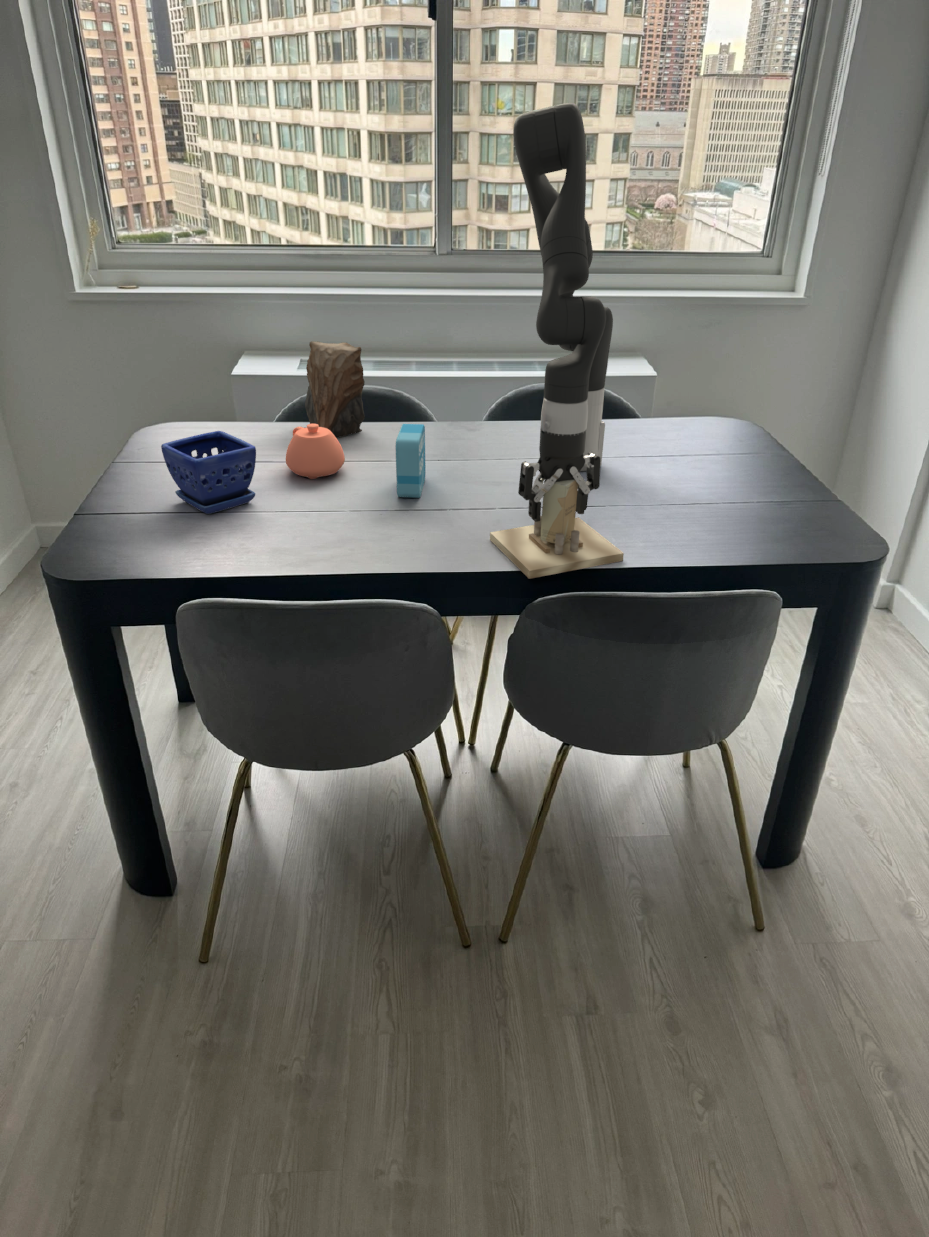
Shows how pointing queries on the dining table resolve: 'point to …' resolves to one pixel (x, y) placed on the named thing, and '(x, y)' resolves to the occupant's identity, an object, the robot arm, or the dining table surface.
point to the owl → (335, 387)
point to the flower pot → (211, 470)
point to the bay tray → (555, 549)
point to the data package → (410, 460)
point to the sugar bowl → (314, 452)
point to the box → (559, 510)
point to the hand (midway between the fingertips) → (557, 516)
